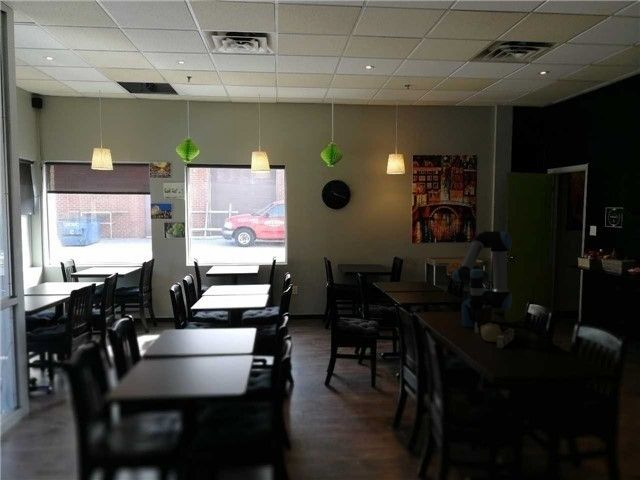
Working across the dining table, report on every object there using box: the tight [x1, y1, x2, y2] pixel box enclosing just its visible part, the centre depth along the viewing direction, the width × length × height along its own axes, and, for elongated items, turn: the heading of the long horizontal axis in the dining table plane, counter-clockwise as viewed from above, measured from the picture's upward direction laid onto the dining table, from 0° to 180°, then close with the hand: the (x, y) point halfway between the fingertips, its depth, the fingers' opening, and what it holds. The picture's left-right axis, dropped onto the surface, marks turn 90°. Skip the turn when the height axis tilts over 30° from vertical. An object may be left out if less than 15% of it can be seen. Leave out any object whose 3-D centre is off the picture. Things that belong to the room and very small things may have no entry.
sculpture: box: [480, 323, 503, 343], centre depth 277 cm, size 12×12×11 cm
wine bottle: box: [461, 283, 475, 329], centre depth 315 cm, size 14×13×30 cm
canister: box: [476, 302, 492, 335], centre depth 297 cm, size 11×10×20 cm
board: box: [496, 328, 515, 349], centre depth 273 cm, size 24×3×6 cm, turn 142°
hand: (476, 332), depth 283 cm, fingers closed
